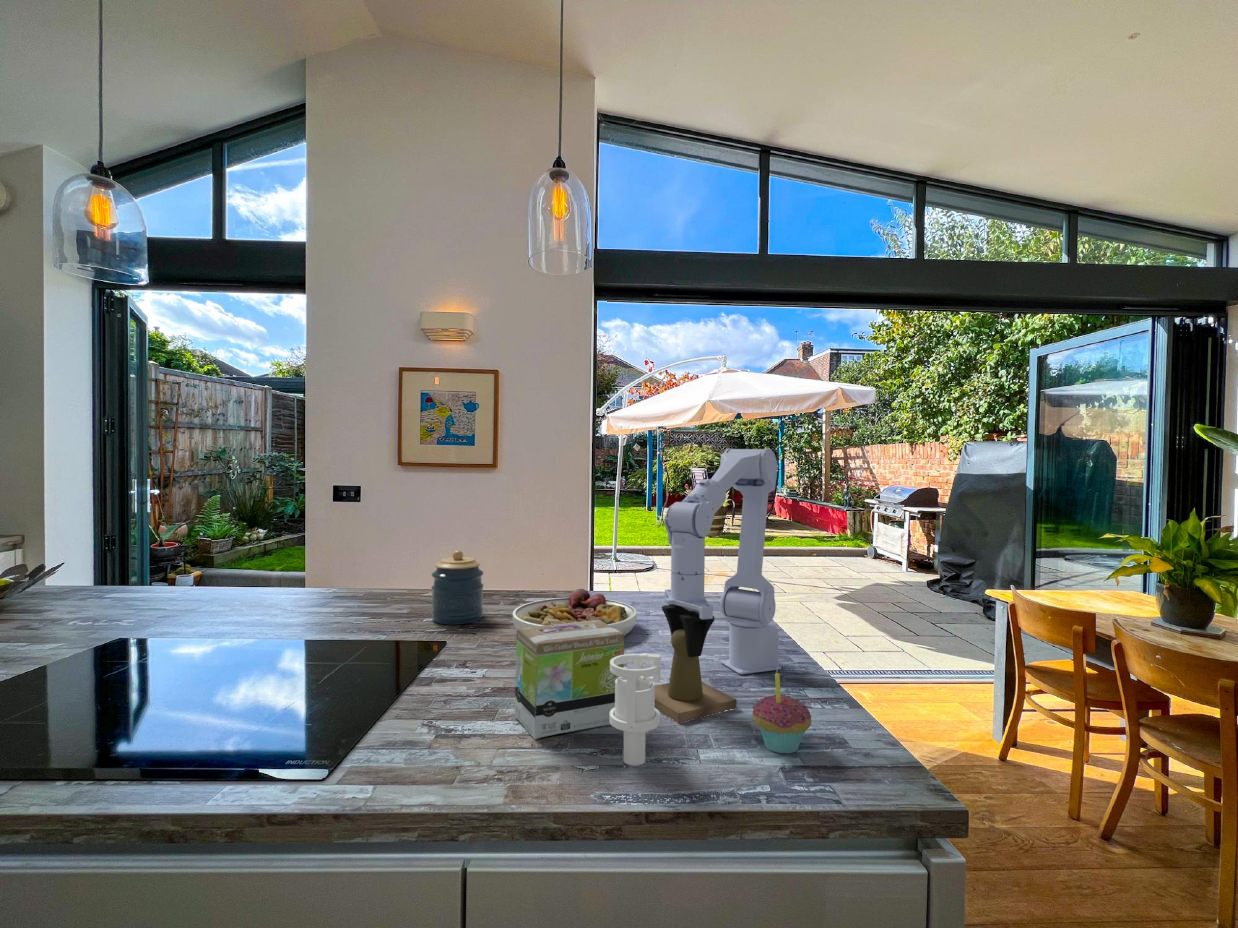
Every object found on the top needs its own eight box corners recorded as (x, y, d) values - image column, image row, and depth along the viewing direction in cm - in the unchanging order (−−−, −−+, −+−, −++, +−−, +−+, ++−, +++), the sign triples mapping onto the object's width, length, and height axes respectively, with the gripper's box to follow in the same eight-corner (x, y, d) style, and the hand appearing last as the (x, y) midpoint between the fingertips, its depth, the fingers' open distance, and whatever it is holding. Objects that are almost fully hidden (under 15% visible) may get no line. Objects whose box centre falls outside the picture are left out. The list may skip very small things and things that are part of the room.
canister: (422, 623, 159) (422, 553, 159) (444, 611, 172) (445, 546, 172) (471, 626, 157) (471, 555, 157) (490, 613, 170) (491, 547, 170)
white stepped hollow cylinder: (656, 774, 85) (657, 663, 85) (604, 769, 86) (605, 659, 86) (662, 750, 92) (663, 647, 92) (614, 746, 93) (614, 644, 93)
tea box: (535, 742, 95) (535, 643, 94) (513, 717, 103) (514, 626, 103) (624, 723, 101) (625, 631, 101) (597, 701, 110) (598, 616, 110)
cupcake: (801, 765, 88) (802, 678, 88) (742, 749, 93) (743, 667, 92) (817, 741, 95) (818, 662, 95) (762, 728, 100) (763, 652, 100)
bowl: (638, 650, 140) (638, 615, 140) (501, 649, 140) (501, 613, 140) (635, 616, 170) (635, 586, 170) (523, 615, 170) (523, 585, 170)
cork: (703, 701, 106) (704, 635, 106) (667, 699, 107) (668, 633, 107) (702, 689, 112) (703, 626, 112) (667, 687, 113) (668, 625, 113)
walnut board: (693, 691, 118) (693, 677, 118) (736, 713, 108) (736, 699, 108) (638, 703, 112) (638, 689, 112) (678, 729, 102) (678, 713, 101)
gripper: (649, 566, 115) (648, 641, 115) (685, 581, 101) (684, 666, 101) (685, 564, 117) (684, 637, 117) (724, 578, 104) (723, 662, 104)
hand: (686, 651), depth 110 cm, fingers closed on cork, 5 cm apart
